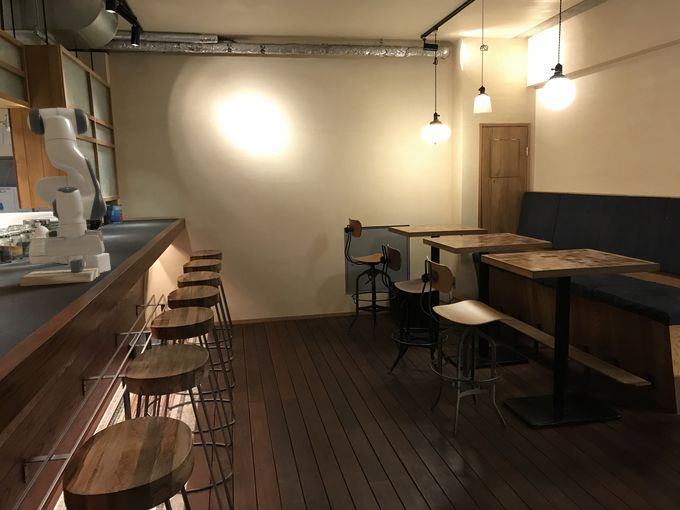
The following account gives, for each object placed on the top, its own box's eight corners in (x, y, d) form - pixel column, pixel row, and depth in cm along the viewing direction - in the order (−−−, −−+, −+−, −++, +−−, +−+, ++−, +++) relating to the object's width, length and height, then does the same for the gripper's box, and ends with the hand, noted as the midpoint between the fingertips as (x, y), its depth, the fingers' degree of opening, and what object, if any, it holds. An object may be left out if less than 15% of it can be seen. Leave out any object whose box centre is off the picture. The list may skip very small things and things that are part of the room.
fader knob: (75, 269, 195) (74, 259, 195) (84, 269, 196) (82, 258, 195) (71, 272, 190) (69, 261, 190) (79, 271, 191) (78, 260, 190)
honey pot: (23, 263, 234) (17, 224, 231) (46, 258, 246) (41, 221, 243) (45, 264, 230) (39, 224, 227) (67, 259, 242) (62, 221, 239)
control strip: (34, 279, 197) (33, 271, 196) (100, 275, 201) (99, 267, 200) (20, 286, 185) (19, 277, 184) (90, 281, 189) (89, 273, 188)
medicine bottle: (111, 270, 210) (108, 241, 208) (98, 273, 204) (95, 244, 201) (96, 269, 212) (93, 241, 210) (84, 273, 205) (80, 243, 203)
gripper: (104, 228, 195) (108, 263, 198) (47, 231, 192) (51, 267, 194) (99, 230, 189) (104, 266, 192) (40, 233, 186) (45, 270, 188)
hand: (77, 267), depth 193 cm, fingers closed on fader knob, 3 cm apart
